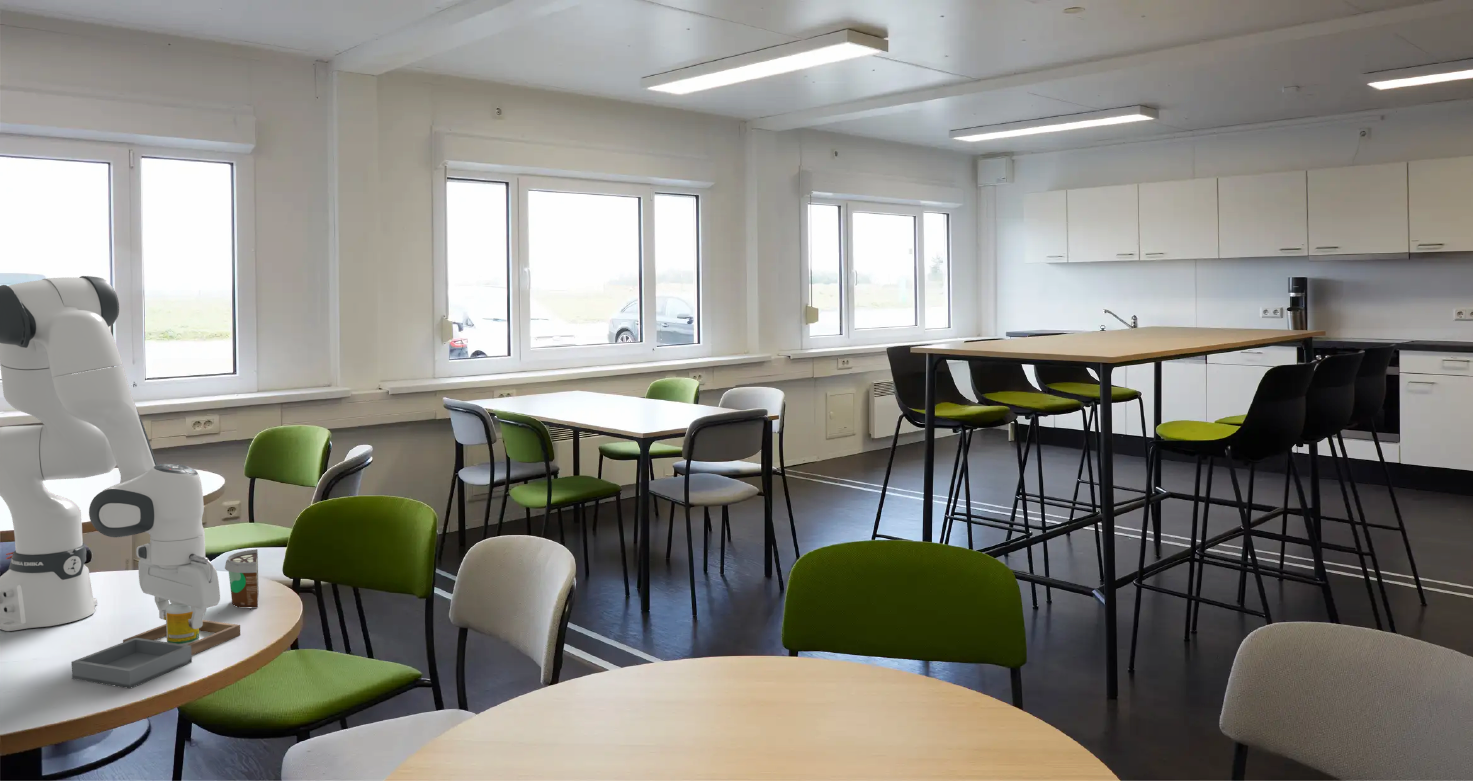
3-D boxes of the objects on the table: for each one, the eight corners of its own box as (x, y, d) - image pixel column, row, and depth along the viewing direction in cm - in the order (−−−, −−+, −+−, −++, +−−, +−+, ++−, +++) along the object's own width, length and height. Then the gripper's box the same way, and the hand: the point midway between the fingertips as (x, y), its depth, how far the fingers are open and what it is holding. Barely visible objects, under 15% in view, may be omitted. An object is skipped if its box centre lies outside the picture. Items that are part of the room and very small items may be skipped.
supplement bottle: (164, 641, 185) (162, 592, 184) (196, 635, 189) (194, 587, 188) (169, 649, 181) (168, 599, 180) (202, 643, 184) (200, 594, 183)
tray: (72, 678, 167) (71, 661, 166) (136, 653, 179) (135, 637, 179) (130, 688, 163) (129, 671, 163) (191, 662, 175) (191, 645, 175)
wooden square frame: (123, 650, 180) (122, 640, 180) (184, 627, 193) (183, 617, 193) (182, 659, 176) (182, 648, 176) (240, 635, 189) (240, 625, 189)
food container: (227, 596, 213) (225, 551, 212) (258, 593, 216) (257, 548, 215) (224, 613, 202) (222, 565, 201) (257, 609, 205) (256, 562, 204)
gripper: (228, 555, 180) (230, 628, 181) (164, 540, 190) (166, 609, 192) (194, 562, 175) (197, 638, 176) (130, 547, 185) (133, 618, 186)
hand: (180, 623), depth 184 cm, fingers open, 8 cm apart
